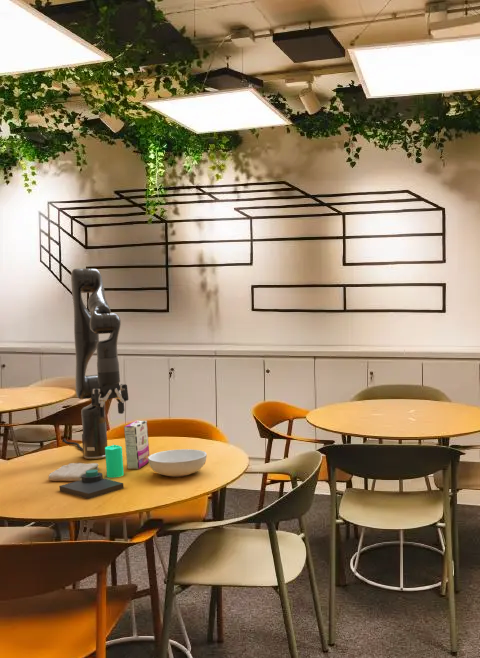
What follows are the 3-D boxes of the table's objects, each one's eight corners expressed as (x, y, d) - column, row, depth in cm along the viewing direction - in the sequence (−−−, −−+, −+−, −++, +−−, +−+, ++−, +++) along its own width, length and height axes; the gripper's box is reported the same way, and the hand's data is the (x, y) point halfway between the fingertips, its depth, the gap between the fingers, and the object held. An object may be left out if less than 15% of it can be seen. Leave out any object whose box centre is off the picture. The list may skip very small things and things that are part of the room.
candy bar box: (138, 461, 263) (135, 420, 261) (150, 462, 262) (147, 420, 260) (126, 469, 252) (123, 426, 250) (138, 469, 251) (136, 426, 249)
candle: (108, 473, 246) (106, 441, 245) (124, 472, 247) (122, 440, 245) (105, 478, 240) (103, 445, 239) (122, 477, 241) (120, 444, 239)
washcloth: (100, 469, 253) (99, 461, 253) (80, 482, 236) (79, 474, 235) (70, 469, 255) (69, 461, 255) (47, 482, 237) (47, 473, 237)
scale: (58, 491, 226) (58, 481, 225) (94, 481, 237) (94, 471, 237) (88, 499, 216) (87, 488, 215) (124, 488, 227) (124, 478, 226)
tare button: (83, 476, 232) (83, 471, 231) (93, 473, 235) (92, 468, 234) (90, 478, 229) (90, 473, 229) (100, 475, 232) (100, 470, 232)
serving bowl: (216, 467, 249) (215, 449, 249) (191, 483, 230) (190, 463, 229) (166, 465, 256) (165, 447, 255) (137, 479, 237) (136, 460, 236)
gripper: (117, 367, 246) (120, 411, 248) (84, 371, 235) (88, 417, 237) (131, 368, 242) (133, 413, 244) (98, 372, 231) (101, 419, 233)
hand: (111, 415), depth 241 cm, fingers open, 8 cm apart
